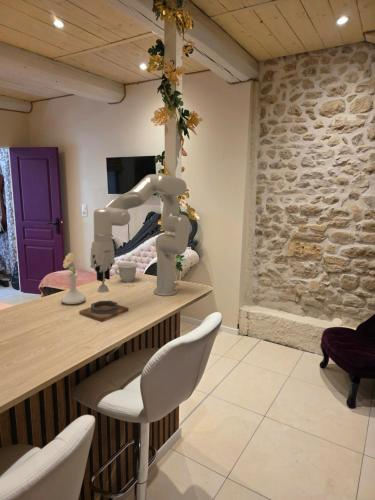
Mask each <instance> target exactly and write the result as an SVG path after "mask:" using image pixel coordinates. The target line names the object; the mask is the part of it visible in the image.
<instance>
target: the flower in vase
mask: <svg viewBox="0 0 375 500" xmlns="http://www.w3.org/2000/svg"><path fill="white" fill-rule="evenodd" d="M74 258H75V255H74V253H73V252H68V254H67V255H65V258H64V260H63V264H62V268H63V269H68V270H69V271H70V272H71V273H67V274H66V276H67V277H68V279H69V282H70V289H69V290H68V291H67V292H66V293H65V294H63V296H61V299H60V301H61V303H63V304H66V305H76V304H80V303H82V302H85V300H86V299H87V297H86V295H85V294H84V293H82V292H81V291H79V290H78V289H77V288H76V280H77V277H78V276H79V274H78V273H76V269H75V266H74V264H73V262H74ZM71 265H72V266H71Z"/></svg>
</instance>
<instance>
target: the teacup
mask: <svg viewBox="0 0 375 500" xmlns="http://www.w3.org/2000/svg"><path fill="white" fill-rule="evenodd" d="M138 265H139V264H137V263H134V262H120V263H118V264H117V265H116V267H115V268H114V273H115V274H116V275H117V276H119V277H120V279H122V282H123V283H132V282H133V279H135V277H136V273H137V266H138Z"/></svg>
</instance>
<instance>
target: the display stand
mask: <svg viewBox="0 0 375 500" xmlns="http://www.w3.org/2000/svg"><path fill="white" fill-rule="evenodd" d="M126 312H127V313H128V312H129V307H127V306H124V305H120V304H118V302H116V301H112V300H98V301H96V302H93V303H91V304H90V307H87V308H84V309H81V310H79V312H78V313H79V314H78V315H80V316H83V317H86V318H89V319H92V320H95V321H98V322H101V323H103V322H105V321H107V320H111V319H113V318H114V317H117V316H120V315H122V314H124V313H126Z"/></svg>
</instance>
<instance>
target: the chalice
mask: <svg viewBox="0 0 375 500" xmlns="http://www.w3.org/2000/svg"><path fill="white" fill-rule="evenodd" d="M111 252H112V251H110V252H103V253H104V262H103V265H102V272H103V281H101V285H99V287H98V288H97V293H100V294H101V293H102V294H105V293H108V292H110V290H109V287H108V286H107V285H106V284H105V281H106V279H104V278H105V274H104V273H105V271H107V269H108V267H109V265H110V262H111ZM98 268H99V266H98Z"/></svg>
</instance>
